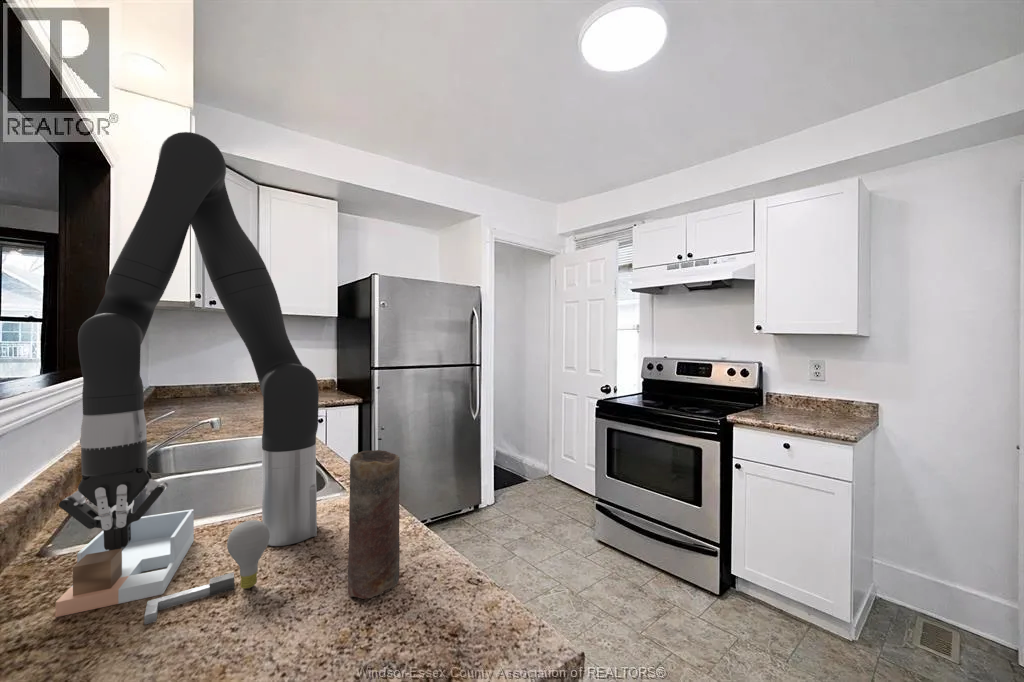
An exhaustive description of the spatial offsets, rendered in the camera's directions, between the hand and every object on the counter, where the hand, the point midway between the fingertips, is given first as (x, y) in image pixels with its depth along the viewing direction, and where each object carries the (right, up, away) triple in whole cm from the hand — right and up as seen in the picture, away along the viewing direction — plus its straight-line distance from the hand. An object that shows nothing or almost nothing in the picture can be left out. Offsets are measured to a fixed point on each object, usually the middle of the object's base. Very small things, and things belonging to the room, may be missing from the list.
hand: (117, 549), depth 66 cm
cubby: (+2, -5, +1) cm, 5 cm away
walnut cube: (+2, -3, -5) cm, 6 cm away
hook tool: (+17, -4, -6) cm, 18 cm away
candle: (+42, -4, -3) cm, 42 cm away
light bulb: (+23, -5, -3) cm, 23 cm away
